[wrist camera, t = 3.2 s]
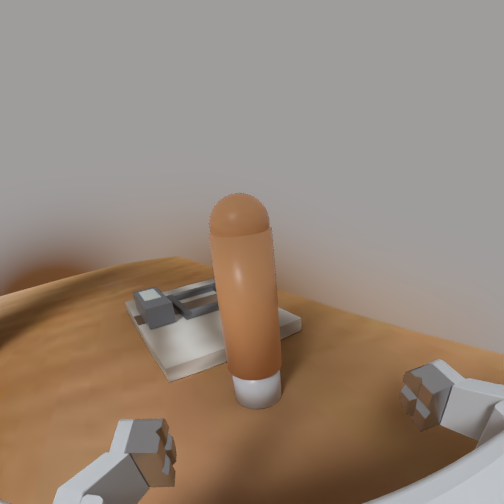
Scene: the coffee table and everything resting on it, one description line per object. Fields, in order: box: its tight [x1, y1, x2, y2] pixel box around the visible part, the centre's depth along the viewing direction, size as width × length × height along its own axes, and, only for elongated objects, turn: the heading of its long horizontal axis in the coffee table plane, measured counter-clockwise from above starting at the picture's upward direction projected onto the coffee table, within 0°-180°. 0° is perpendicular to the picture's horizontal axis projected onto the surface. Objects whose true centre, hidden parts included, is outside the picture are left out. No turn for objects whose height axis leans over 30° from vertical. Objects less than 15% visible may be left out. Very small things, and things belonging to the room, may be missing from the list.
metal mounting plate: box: [125, 278, 302, 382], centre depth 37 cm, size 15×20×2 cm
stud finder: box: [133, 287, 176, 329], centre depth 36 cm, size 3×7×2 cm, turn 32°
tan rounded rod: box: [209, 193, 282, 409], centre depth 21 cm, size 4×4×15 cm
